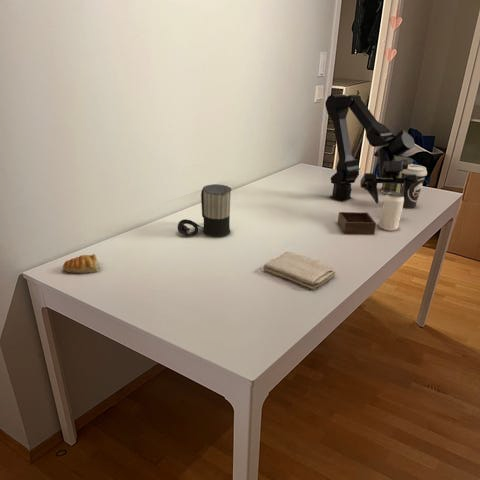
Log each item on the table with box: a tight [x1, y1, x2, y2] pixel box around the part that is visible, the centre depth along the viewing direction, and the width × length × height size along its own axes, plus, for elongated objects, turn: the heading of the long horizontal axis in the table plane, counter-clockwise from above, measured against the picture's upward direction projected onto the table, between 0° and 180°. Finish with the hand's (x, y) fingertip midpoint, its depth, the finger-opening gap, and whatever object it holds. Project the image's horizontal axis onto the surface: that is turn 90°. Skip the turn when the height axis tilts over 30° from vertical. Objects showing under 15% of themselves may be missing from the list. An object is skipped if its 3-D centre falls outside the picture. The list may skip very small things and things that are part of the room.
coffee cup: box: [400, 164, 428, 209], centre depth 184 cm, size 10×10×15 cm
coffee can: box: [380, 155, 414, 195], centre depth 198 cm, size 10×10×14 cm
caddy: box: [337, 211, 377, 235], centre depth 164 cm, size 10×10×4 cm
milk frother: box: [177, 183, 232, 238], centre depth 153 cm, size 14×16×15 cm
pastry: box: [62, 253, 99, 274], centre depth 131 cm, size 9×7×4 cm
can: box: [378, 192, 404, 232], centre depth 163 cm, size 6×6×12 cm
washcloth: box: [262, 251, 336, 291], centre depth 133 cm, size 12×18×3 cm, turn 51°
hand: (390, 203), depth 165 cm, fingers open, 9 cm apart
